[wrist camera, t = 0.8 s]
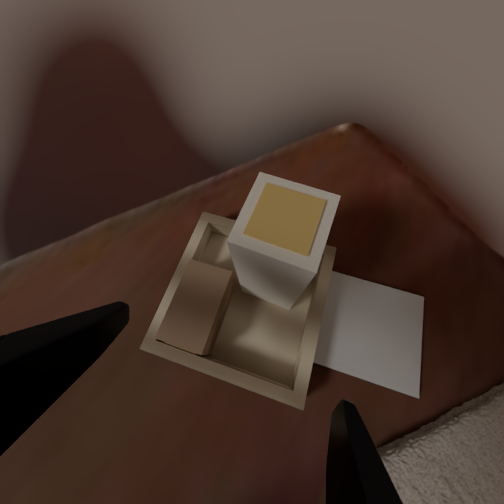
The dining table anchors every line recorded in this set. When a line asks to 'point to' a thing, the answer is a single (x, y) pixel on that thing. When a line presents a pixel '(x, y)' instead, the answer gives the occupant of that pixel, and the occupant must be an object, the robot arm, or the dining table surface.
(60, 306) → the dining table surface
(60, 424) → the dining table surface
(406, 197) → the dining table surface
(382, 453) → the washcloth
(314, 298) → the tray
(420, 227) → the dining table surface
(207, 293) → the walnut box
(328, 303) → the coaster
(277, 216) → the cream box
